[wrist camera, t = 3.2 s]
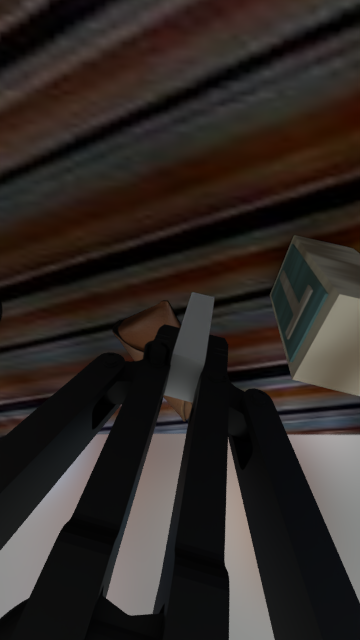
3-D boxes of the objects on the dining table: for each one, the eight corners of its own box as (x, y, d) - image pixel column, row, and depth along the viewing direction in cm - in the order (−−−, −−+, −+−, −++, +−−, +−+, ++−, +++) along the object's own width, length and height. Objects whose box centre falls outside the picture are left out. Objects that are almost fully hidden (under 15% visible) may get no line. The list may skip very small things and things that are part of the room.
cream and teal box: (266, 294, 32) (287, 378, 20) (290, 234, 28) (333, 292, 16) (321, 307, 31) (375, 399, 20) (352, 248, 28) (442, 318, 16)
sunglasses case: (233, 393, 40) (210, 432, 37) (200, 388, 46) (177, 422, 42) (165, 295, 34) (129, 331, 30) (136, 302, 39) (103, 333, 36)
